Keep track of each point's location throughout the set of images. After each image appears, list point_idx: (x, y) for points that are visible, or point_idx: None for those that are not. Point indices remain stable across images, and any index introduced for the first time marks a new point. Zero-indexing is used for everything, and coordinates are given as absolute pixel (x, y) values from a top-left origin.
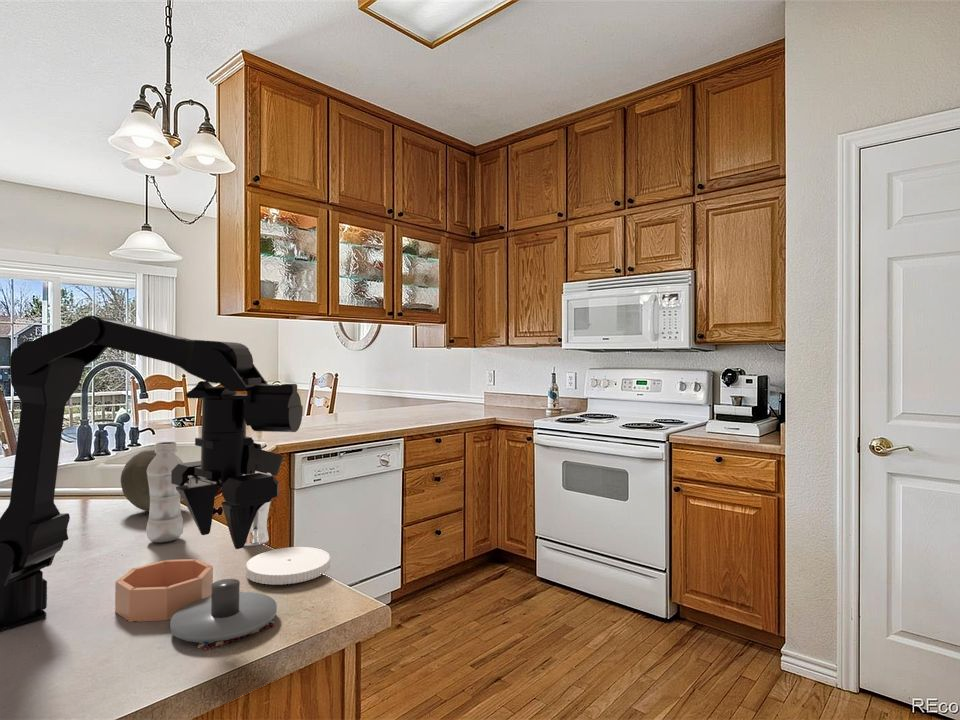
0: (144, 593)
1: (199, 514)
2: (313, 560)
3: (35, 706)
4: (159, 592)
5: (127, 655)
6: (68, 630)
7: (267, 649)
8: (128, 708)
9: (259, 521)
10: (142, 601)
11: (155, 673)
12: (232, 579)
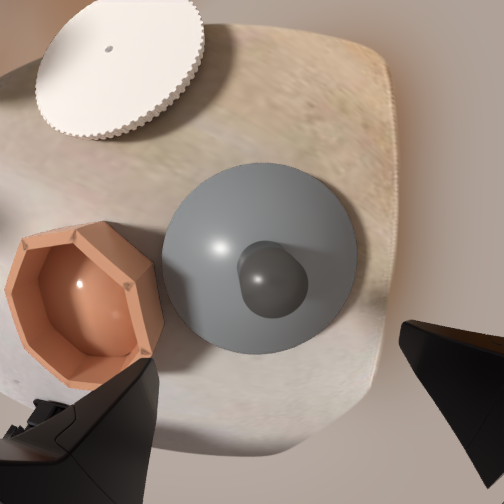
0: None
1: (142, 455)
2: (155, 14)
3: (287, 445)
4: None
5: (247, 388)
6: None
7: (384, 247)
8: (361, 396)
9: None
10: None
11: (322, 373)
12: (259, 263)
